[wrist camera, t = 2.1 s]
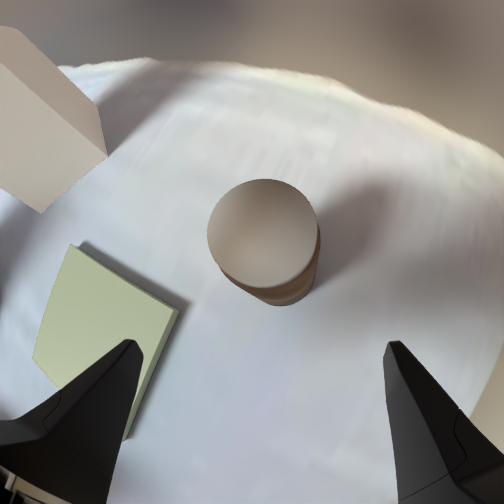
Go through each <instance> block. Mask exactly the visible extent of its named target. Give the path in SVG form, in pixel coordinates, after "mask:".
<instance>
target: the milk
mask: <svg viewBox="0 0 504 504" xmlns="http://www.w3.org/2000/svg"><path fill="white" fill-rule="evenodd" d="M106 158H108V154H107V150H106V145H105V141H104V136H103V131H102V126H101V121H100V116H99V111H98V107H97V106H96V105H95V104H94V103H93V102H92V101H91V100H90V99H89V98H88V97H87V96H86V95H85V94H84V93H83V92H82V91H81V90H80V89H79V88H78V87H77V86H76V85H75V84H74V83H73V82H72V81H71V80H70V79H68V78H67V77H66V76H65V75H64V74H63V73H62V72H61V71H60V70H59V69H58V68H57V67H56V66H55V65H54V64H53V63H52V62H51V61H50V60H49V59H48V58H47V57H46V56H45V55H44V54H43V53H42V52H41V51H40V50H39V49H38V48H37V47H36V46H35V45H34V44H33V43H32V42H31V41H30V40H29V39H28V38H27V37H26V36H25V35H24V34H22V33H21V32H20V31H18V30H17V29H14V28H11V27H5V26H0V188H2V189H3V190H5V191H6V192H8V193H9V194H11V195H12V196H14V197H15V198H17V199H18V200H20V201H22V202H23V203H25V204H26V205H28V206H30V207H31V208H33V209H34V210H36V211H38V212H39V213H41V214H42V213H43V212H44V211H45V210H46V209H47V208H48V207H49V206H51V205H52V204H53V203H54V202H55V201H56V200H57V199H58V198H59V197H60V196H61V195H63V194H64V193H65V192H66V191H67V190H68V189H69V188H70V187H72V186H73V185H74V184H75V183H76V182H78V181H79V180H80V179H81V178H82V177H84V176H85V175H86V174H87V173H88V172H90V171H91V170H92V169H93V168H95V167H96V166H97V165H99V164H100V163H101V162H102V161H104V160H105V159H106Z"/></svg>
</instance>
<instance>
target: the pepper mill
mask: <svg viewBox="0 0 504 504" xmlns="http://www.w3.org/2000/svg"><path fill="white" fill-rule="evenodd" d="M207 238H208V245H209V249H210V252H211V254H212V256H213V258H214V260H215V262H216V263H217V264H218V266H219V267H220V269H221V271H222V272H223V273H224V275H225V276H226V277H227V278H228V279H229V280H230V281H231V282H232V283H234V284H235V285H236V286H238V287H240V288H241V289H243V290H245V291H246V292H248V293H250V294H252V295H253V296H255V297H257V298H258V299H260V300H262V301H263V302H265V303H267V304H270V305H274V306H287V305H291V304H294V303H296V302H298V301H299V300H301V299H302V298H303V297H304V296H305V295H306V294H307V293H308V292H309V290H310V288H311V286H312V284H313V280H314V275H315V270H316V265H317V260H318V255H319V250H320V230H319V226H318V223H317V220H316V216H315V213H314V210H313V208H312V206H311V204H310V202H309V201H308V200H307V198H306V197H305V196H304V195H303V194H302V193H301V192H300V191H299V190H297V189H296V188H295V187H293V186H291V185H289V184H287V183H285V182H282V181H278V180H272V179H257V180H252V181H248V182H245V183H242V184H240V185H238V186H236V187H235V188H233V189H231V190H230V191H229V192H228V193H226V194H225V195H224V196H223V197H222V198H221V199H220V201H219V202H218V203H217V205H216V206H215V208H214V210H213V212H212V214H211V216H210V220H209V223H208V229H207Z"/></svg>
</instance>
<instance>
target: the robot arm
mask: <svg viewBox="0 0 504 504" xmlns="http://www.w3.org/2000/svg"><path fill="white" fill-rule="evenodd" d="M143 360H144V355H143V352H142V350H141V349H140V347H139V345H138V343H137V342H136V341H135V340H133V339H125V340H123V341H122V342H120V343H119V344H118V345H117V346H115V347H114V348H113V349H111V350H110V351H109V352H108V353H106V354H105V355H104V356H102V357H101V358H100V359H99V360H97V361H96V362H95V363H93V364H92V365H91V366H90V367H88V368H87V369H86V370H84V371H83V372H82V373H81V374H79V375H78V376H77V377H76V378H74V379H73V380H72V381H70V382H69V383H68V384H67V385H65V386H64V387H63V388H62V389H60V390H59V391H58V392H56V393H55V394H54V395H52V396H51V397H50V398H48V399H47V400H46V401H44V402H43V403H41V404H40V405H38V406H37V407H35V408H34V409H32V410H31V411H29V412H27V413H26V414H24V415H23V416H21V417H19V418H17V419H14V420H0V504H106V502H107V497H108V493H109V489H110V484H111V480H112V476H113V472H114V468H115V464H116V460H117V456H118V453H119V449H120V445H121V442H122V438H123V435H124V431H125V428H126V425H127V421H128V418H129V415H130V411H131V408H132V405H133V402H134V399H135V395H136V392H137V388H138V383H139V378H140V373H141V369H142V364H143ZM383 367H384V378H385V392H386V404H387V410H388V416H389V422H390V428H391V435H392V442H393V450H394V458H395V467H396V477H397V489H398V501H399V502H398V504H504V454H503V453H501V452H500V451H499V450H498V449H497V448H496V447H495V446H494V445H493V444H492V443H491V442H490V441H489V440H488V439H487V438H486V437H485V436H484V435H483V434H482V433H481V432H480V431H479V430H478V429H477V428H476V427H475V426H474V425H473V423H472V422H471V421H470V420H469V419H468V418H467V417H466V415H465V414H464V413H463V412H462V410H461V409H459V407H458V406H457V405H456V403H455V402H454V401H453V400H452V399H451V397H450V396H449V395H448V394H447V393H446V392H445V390H444V389H443V388H442V387H441V386H440V385H439V383H438V382H437V381H436V380H435V379H434V378H433V376H432V375H431V374H430V373H429V372H428V371H427V370H426V369H425V367H424V366H423V365H422V364H421V363H420V362H419V361H418V360H417V358H416V357H415V356H414V355H413V354H412V353H411V352H410V351H409V350H408V348H407V347H406V346H405V345H404V344H403V343H402V342H401V341H390V342H389V343H388V344H387V347H386V351H385V354H384V357H383Z"/></svg>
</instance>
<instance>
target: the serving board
mask: <svg viewBox="0 0 504 504" xmlns="http://www.w3.org/2000/svg"><path fill="white" fill-rule="evenodd" d="M179 312H180V311H179V310H177V309H175V308H174V307H172V306H170V305H168V304H166V303H165V302H163V301H161V300H160V299H158V298H156V297H154V296H153V295H151V294H149V293H148V292H146V291H144V290H143V289H141V288H139V287H138V286H136V285H134V284H133V283H131V282H130V281H128V280H126V279H125V278H123V277H122V276H120V275H118V274H117V273H115V272H114V271H112V270H111V269H109V268H107V267H106V266H104V265H103V264H101V263H100V262H98V261H97V260H95V259H94V258H92V257H91V256H89V255H88V254H86V253H85V252H84V251H82V250H81V249H79V248H78V247H76V246H73V245H71V244H70V245H69V248H68V250H67V252H66V255H65V257H64V260H63V262H62V264H61V267H60V269H59V272H58V275H57V277H56V280H55V283H54V285H53V288H52V291H51V294H50V297H49V300H48V303H47V306H46V309H45V312H44V315H43V318H42V322H41V325H40V329H39V332H38V336H37V339H36V343H35V347H34V351H33V356H32V359H33V361H34V362H35V363H36V364H37V365H38V367H39V368H40V369H41V370H42V371H43V373H44V374H45V375H46V376H47V377H48V378H49V379H50V381H51V382H52V383H53V384H54V385H55V386H56V387H57V388H58V389H59V390H60V389H62V388H63V387H64V386H65V385H67V384H68V383H69V382H70V381H72V380H73V379H74V378H76V377H77V376H78V375H79V374H81V373H82V372H83V371H84V370H86V369H87V368H88V367H90V366H91V365H92V364H93V363H95V362H96V361H97V360H99V359H100V358H101V357H102V356H104V355H105V354H106V353H108V352H109V351H110V350H111V349H113V348H114V347H115V346H117V345H118V344H119V343H120V342H122V341H123V340H125V339H133V340H135V341H136V342H137V343H138V345H139V347H140V349H141V350H142V352H143V355H144V360H143V364H142V369H141V373H140V378H139V383H138V388H137V392H136V395H135V399H134V402H133V405H132V408H131V411H130V415H129V418H128V421H127V425H126V428H125V431H124V435H123V438H122V442H123V441H125V440H126V438H127V435H128V433H129V430H130V427H131V425H132V422H133V420H134V417H135V415H136V412H137V410H138V407H139V405H140V402H141V400H142V397H143V395H144V393H145V390H146V388H147V385H148V383H149V381H150V378H151V376H152V373H153V371H154V369H155V366H156V364H157V362H158V359H159V357H160V355H161V353H162V350H163V348H164V346H165V343H166V341H167V339H168V337H169V334H170V332H171V330H172V328H173V325H174V323H175V321H176V319H177V317H178V314H179Z"/></svg>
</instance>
